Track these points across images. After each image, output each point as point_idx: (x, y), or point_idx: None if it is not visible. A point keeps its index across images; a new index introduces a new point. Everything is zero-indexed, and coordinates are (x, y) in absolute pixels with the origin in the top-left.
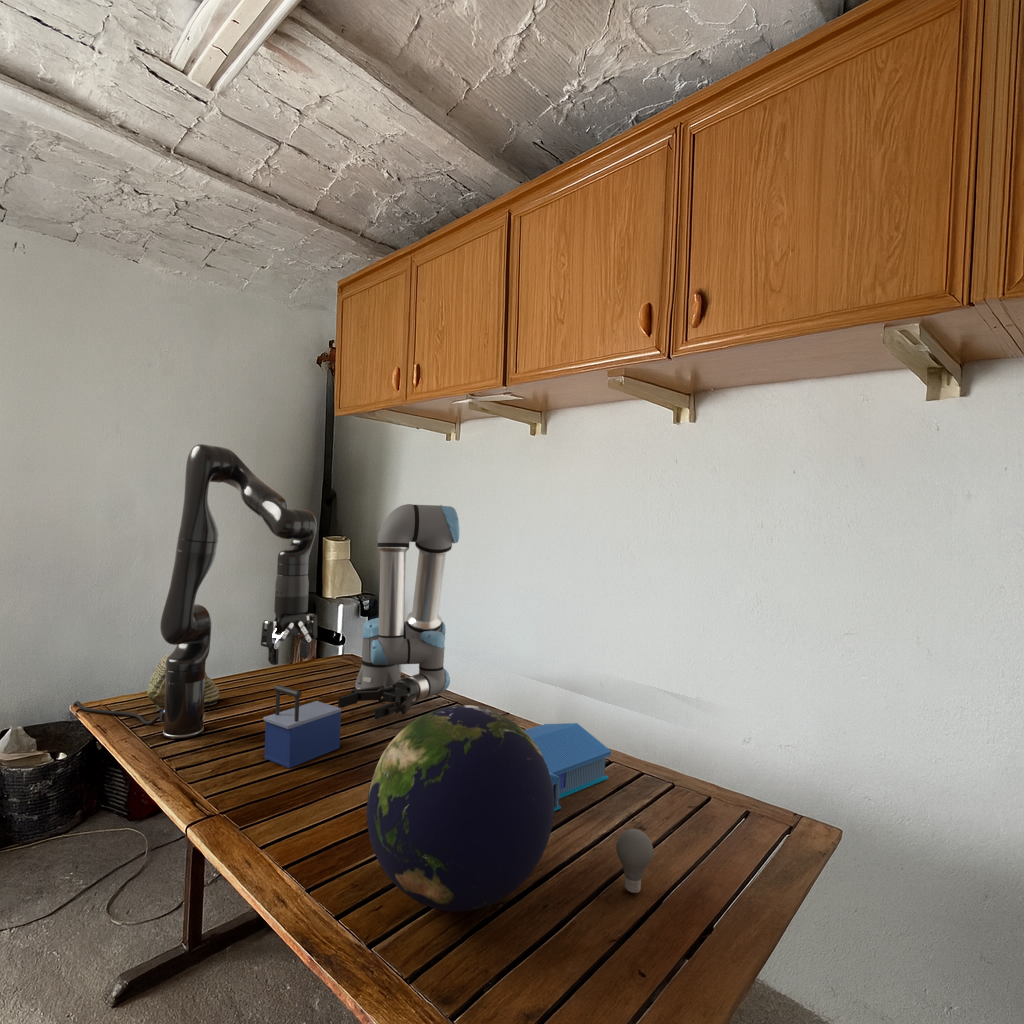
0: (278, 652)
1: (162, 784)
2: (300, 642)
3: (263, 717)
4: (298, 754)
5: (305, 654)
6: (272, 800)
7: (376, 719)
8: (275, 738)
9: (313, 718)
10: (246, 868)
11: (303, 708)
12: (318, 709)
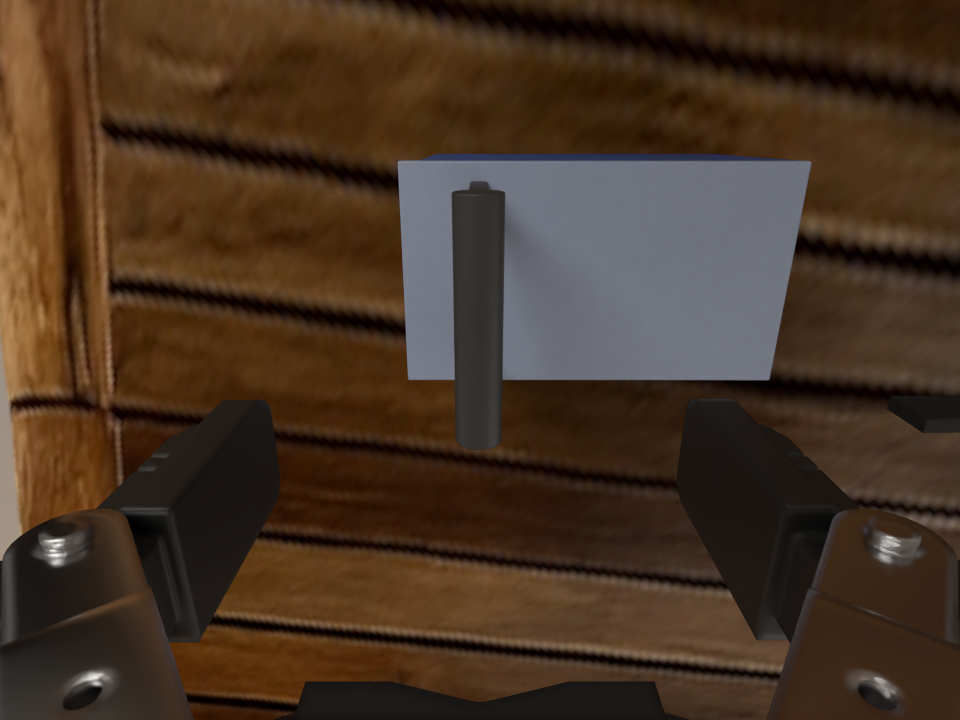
0: (219, 600)
1: (15, 48)
2: (782, 511)
3: (398, 162)
4: None
5: (693, 515)
6: None
7: (887, 408)
8: None
9: (571, 378)
10: None
11: (650, 220)
12: (684, 302)
